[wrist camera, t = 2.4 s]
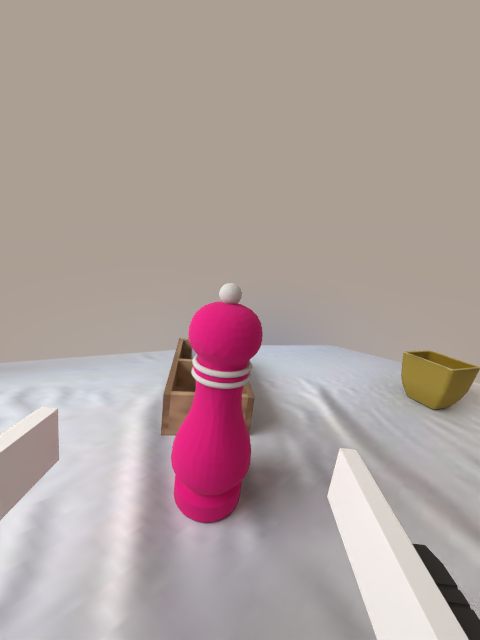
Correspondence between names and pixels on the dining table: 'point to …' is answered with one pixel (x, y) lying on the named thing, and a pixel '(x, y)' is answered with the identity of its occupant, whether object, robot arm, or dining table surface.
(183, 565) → the dining table surface
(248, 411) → the caddy
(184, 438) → the pepper mill
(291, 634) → the dining table surface
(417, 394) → the flower pot
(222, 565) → the dining table surface
